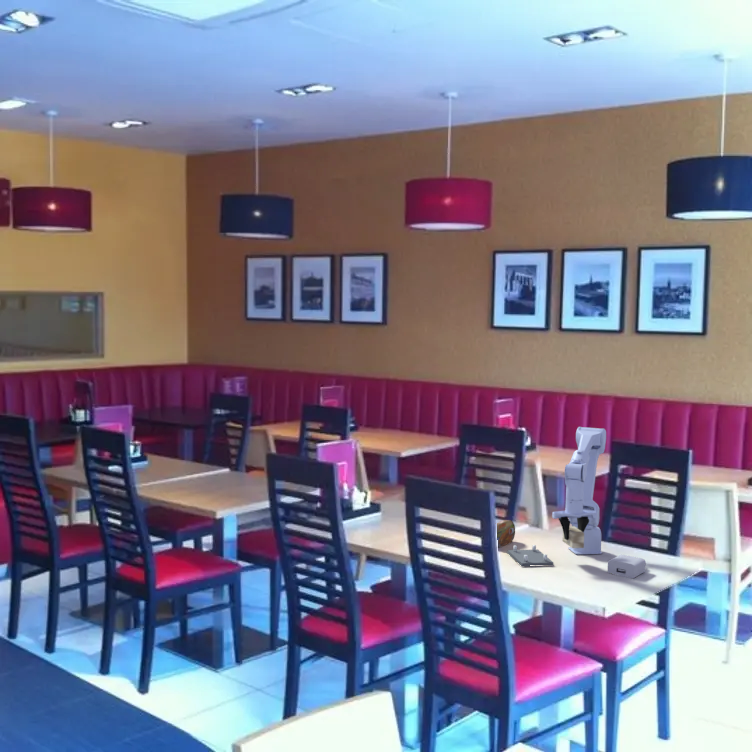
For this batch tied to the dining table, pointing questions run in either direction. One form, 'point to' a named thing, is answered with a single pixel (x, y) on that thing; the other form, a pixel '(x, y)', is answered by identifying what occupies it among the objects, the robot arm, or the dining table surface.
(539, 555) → the standoff plate
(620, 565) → the charger
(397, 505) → the dining table surface
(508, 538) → the tin
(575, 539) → the birch block
